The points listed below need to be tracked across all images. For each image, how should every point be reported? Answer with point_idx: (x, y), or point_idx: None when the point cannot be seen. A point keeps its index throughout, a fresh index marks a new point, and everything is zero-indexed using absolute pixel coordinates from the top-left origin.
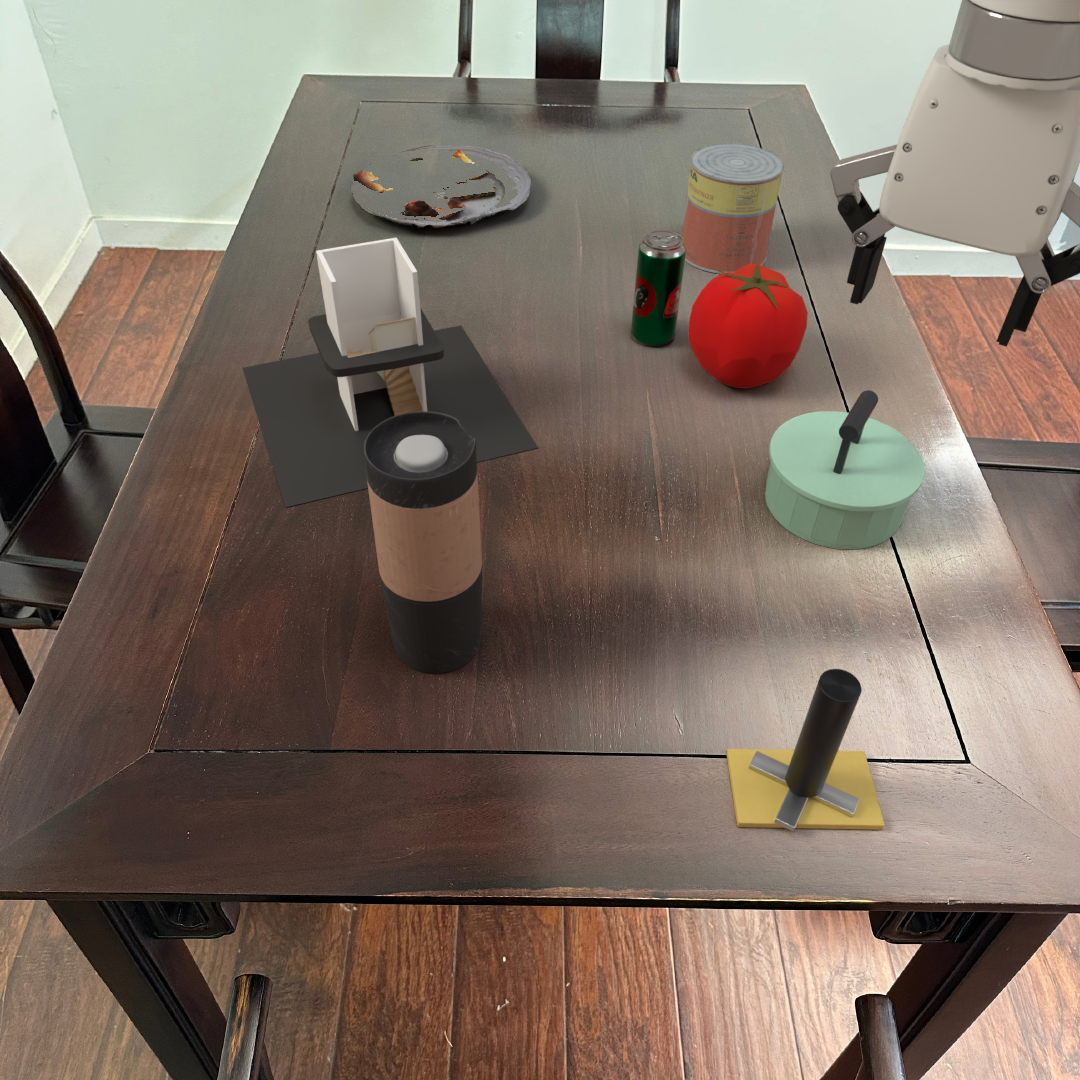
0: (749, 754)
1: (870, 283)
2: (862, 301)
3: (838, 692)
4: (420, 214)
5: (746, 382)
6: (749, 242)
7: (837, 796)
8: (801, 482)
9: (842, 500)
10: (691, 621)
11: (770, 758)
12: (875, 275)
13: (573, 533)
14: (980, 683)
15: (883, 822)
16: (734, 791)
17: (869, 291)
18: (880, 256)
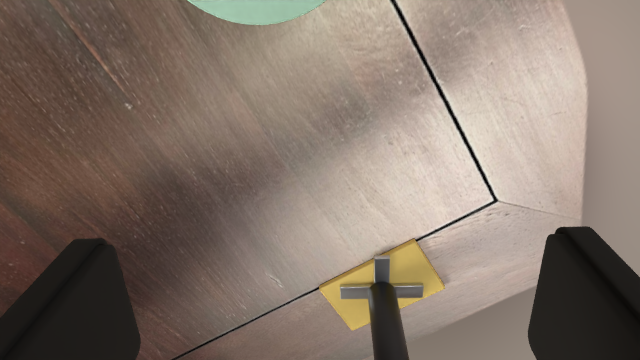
0: (335, 286)
1: (110, 318)
2: (137, 329)
3: None
4: None
5: None
6: None
7: (407, 291)
8: (223, 7)
9: (287, 11)
10: (226, 188)
11: (351, 288)
12: (94, 279)
13: (57, 148)
14: (497, 112)
15: (443, 287)
16: (339, 314)
17: (121, 273)
18: (53, 342)
